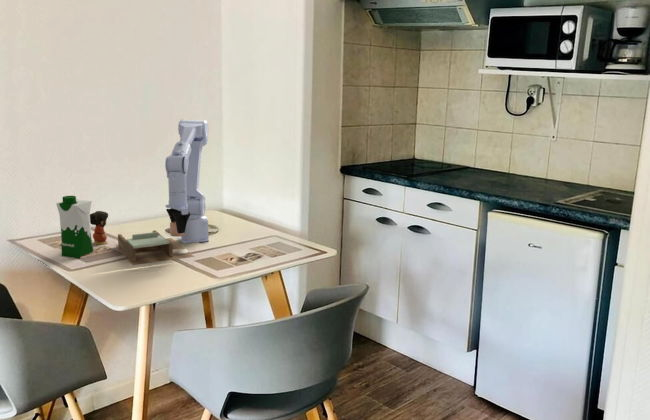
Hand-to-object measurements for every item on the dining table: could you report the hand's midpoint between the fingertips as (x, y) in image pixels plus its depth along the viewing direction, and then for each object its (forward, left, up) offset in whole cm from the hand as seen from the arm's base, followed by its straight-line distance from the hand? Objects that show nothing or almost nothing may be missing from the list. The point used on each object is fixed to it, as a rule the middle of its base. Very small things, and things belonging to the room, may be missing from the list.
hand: (178, 231), depth 199 cm
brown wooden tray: (+7, -6, -8) cm, 12 cm away
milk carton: (+30, -14, -8) cm, 34 cm away
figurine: (+21, -23, -8) cm, 32 cm away
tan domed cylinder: (0, 0, -1) cm, 1 cm away
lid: (+10, -2, -3) cm, 11 cm away
